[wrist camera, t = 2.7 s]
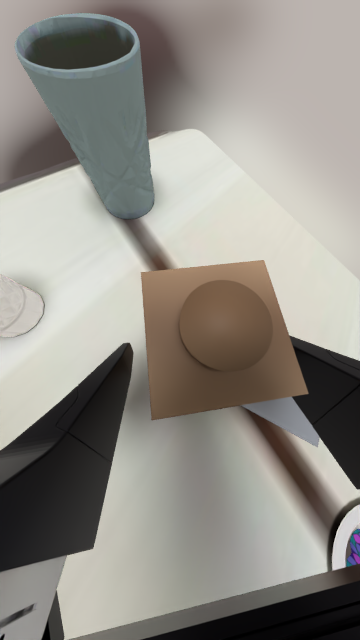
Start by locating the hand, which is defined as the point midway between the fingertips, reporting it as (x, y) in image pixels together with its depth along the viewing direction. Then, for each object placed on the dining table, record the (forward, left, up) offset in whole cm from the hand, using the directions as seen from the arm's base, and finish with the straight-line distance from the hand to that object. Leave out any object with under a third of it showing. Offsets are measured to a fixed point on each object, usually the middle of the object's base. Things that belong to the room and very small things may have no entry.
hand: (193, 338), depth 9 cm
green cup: (+17, +20, -8) cm, 28 cm away
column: (0, 0, -8) cm, 8 cm away
